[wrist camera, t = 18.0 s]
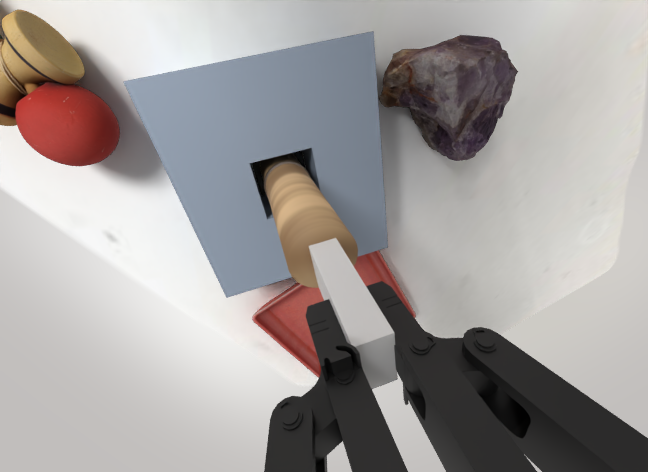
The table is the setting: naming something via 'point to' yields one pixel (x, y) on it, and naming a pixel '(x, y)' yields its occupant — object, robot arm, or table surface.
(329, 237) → the peg
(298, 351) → the plant saucer
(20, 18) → the kendama
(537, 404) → the robot arm
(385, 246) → the board
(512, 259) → the table surface
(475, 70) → the rock
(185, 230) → the table surface
